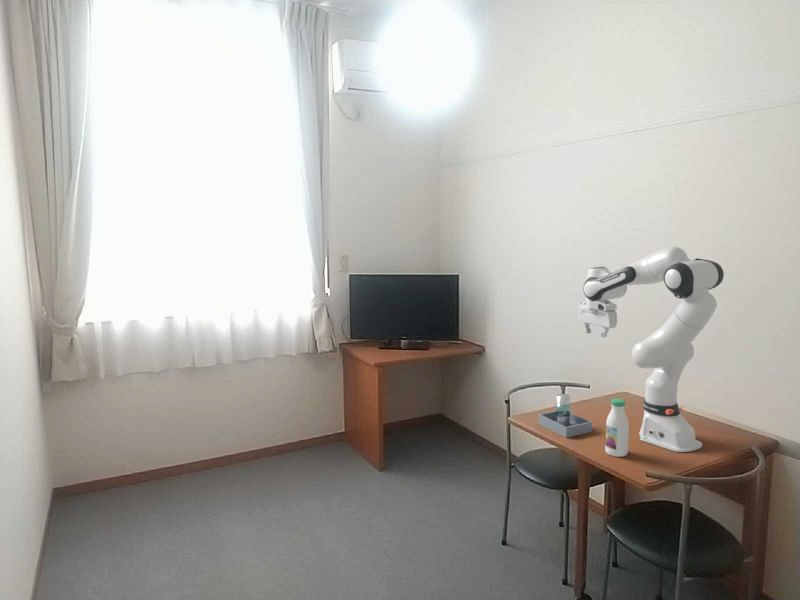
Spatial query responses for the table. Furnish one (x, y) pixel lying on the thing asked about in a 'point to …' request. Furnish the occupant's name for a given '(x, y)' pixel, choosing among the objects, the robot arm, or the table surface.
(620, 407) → the milk bottle
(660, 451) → the table surface
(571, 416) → the tote
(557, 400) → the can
